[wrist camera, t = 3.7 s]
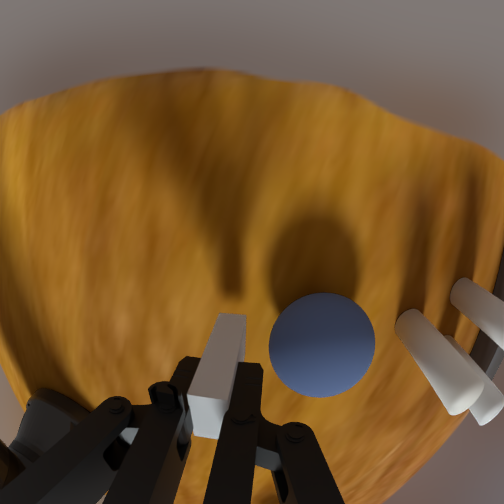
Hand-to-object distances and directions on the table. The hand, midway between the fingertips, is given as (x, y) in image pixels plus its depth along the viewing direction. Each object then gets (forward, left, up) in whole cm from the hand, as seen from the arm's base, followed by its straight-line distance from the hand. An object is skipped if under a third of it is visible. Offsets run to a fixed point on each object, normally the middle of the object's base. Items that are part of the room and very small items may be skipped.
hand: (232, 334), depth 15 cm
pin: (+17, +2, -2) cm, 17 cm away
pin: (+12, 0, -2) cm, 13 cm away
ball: (+5, 0, +1) cm, 5 cm away
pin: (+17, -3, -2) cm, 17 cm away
